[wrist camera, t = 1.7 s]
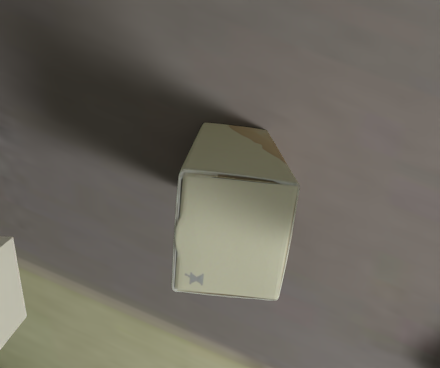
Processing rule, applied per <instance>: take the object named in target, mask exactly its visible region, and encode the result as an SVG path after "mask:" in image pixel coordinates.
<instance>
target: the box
mask: <svg viewBox="0 0 440 368" xmlns="http://www.w3.org/2000/svg"><path fill="white" fill-rule="evenodd" d="M299 190H300V186H299V183H298V182H297V180H296V179H295V177H294V175H293V174H292V172H291V170H290V169H289V167H288V165H287V164H286V162H285V160H284V158H283V157H282V155H281V153H280V152H279V150H278V148H277V147H276V145H275V143H274V141H273V140H272V138H271V137H270V135H269V133H268V131H267V130H263V129H256V128H250V127H242V126H234V125H225V124H215V123H203V124H202V126H201V128H200V130H199V132H198V134H197V137H196V139H195V141H194V143H193V145H192V147H191V149H190V151H189V153H188V155H187V157H186V159H185V162H184V164H183V166H182V168H181V170H180V173H179V177H178V188H177V199H176V212H175V228H174V243H173V265H172V284H171V285H172V290H173V291H176V292H186V293H196V294H204V295H214V296H224V297H237V298H247V299H261V300H271V301H273V300H277V299H278V298H279V295H280V290H281V286H282V281H283V277H284V273H285V268H286V263H287V258H288V253H289V248H290V242H291V237H292V231H293V225H294V219H295V213H296V207H297V201H298V194H299Z"/></svg>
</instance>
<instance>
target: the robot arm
mask: <svg viewBox="0 0 440 368" xmlns="http://www.w3.org/2000/svg"><path fill="white" fill-rule="evenodd" d="M26 317H27V314H26V309H25V303H24V297H23V291H22V286H21V280H20V274H19V269H18V263H17V257H16V251H15V246H14V240H13V237H4V236H0V349H1V348H2V347H3V346H4V344H5V343H6V342H7V341H8V339H9V338H10V337H11V336H12V334H13V333H14V332H15V331H16V329H17V328H18V327H19V326H20V324H21V323H22V322H23V320H24V319H25V318H26Z"/></svg>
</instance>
